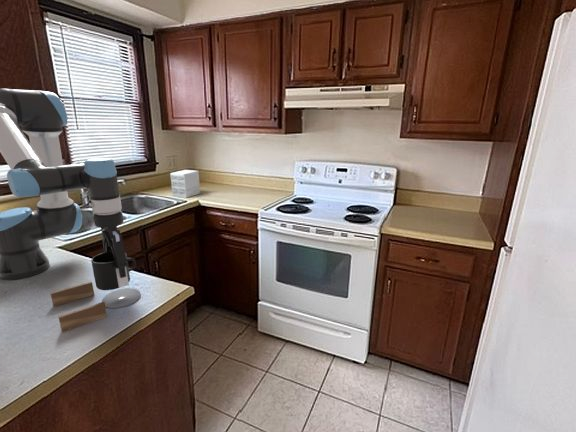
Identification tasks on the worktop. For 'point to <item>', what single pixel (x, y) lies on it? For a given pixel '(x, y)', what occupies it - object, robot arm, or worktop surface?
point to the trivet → (121, 298)
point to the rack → (80, 315)
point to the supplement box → (185, 183)
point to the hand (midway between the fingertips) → (118, 279)
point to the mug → (107, 270)
